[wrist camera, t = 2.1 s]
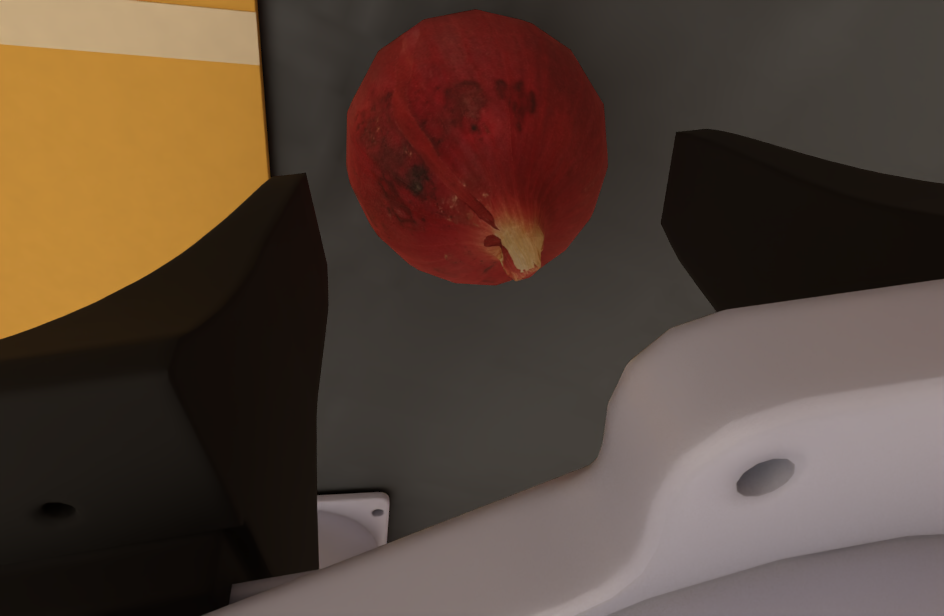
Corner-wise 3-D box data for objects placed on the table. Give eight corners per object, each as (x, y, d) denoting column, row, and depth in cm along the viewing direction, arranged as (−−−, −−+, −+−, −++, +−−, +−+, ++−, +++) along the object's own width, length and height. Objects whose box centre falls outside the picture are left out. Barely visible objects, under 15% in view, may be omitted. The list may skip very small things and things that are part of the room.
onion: (311, 138, 17) (289, 317, 11) (411, -71, 14) (462, 1, 8) (485, 222, 19) (551, 407, 13) (597, 58, 17) (747, 189, 10)
